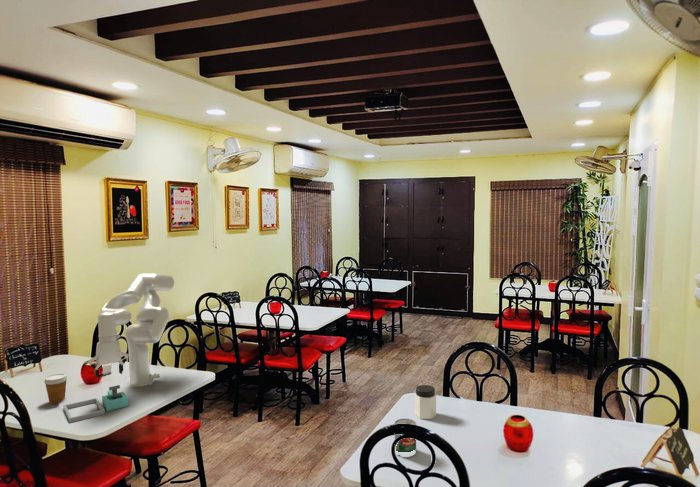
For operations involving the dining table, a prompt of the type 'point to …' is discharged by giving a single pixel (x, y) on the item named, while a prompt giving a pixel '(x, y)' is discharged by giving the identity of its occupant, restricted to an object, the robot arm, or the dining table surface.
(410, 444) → the canned tomato
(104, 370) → the teacup
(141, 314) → the robot arm
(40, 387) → the dining table surface
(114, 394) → the grey t-shaped stand
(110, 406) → the teal box on base
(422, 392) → the jar
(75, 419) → the tray
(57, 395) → the disposable coffee cup
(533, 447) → the dining table surface
